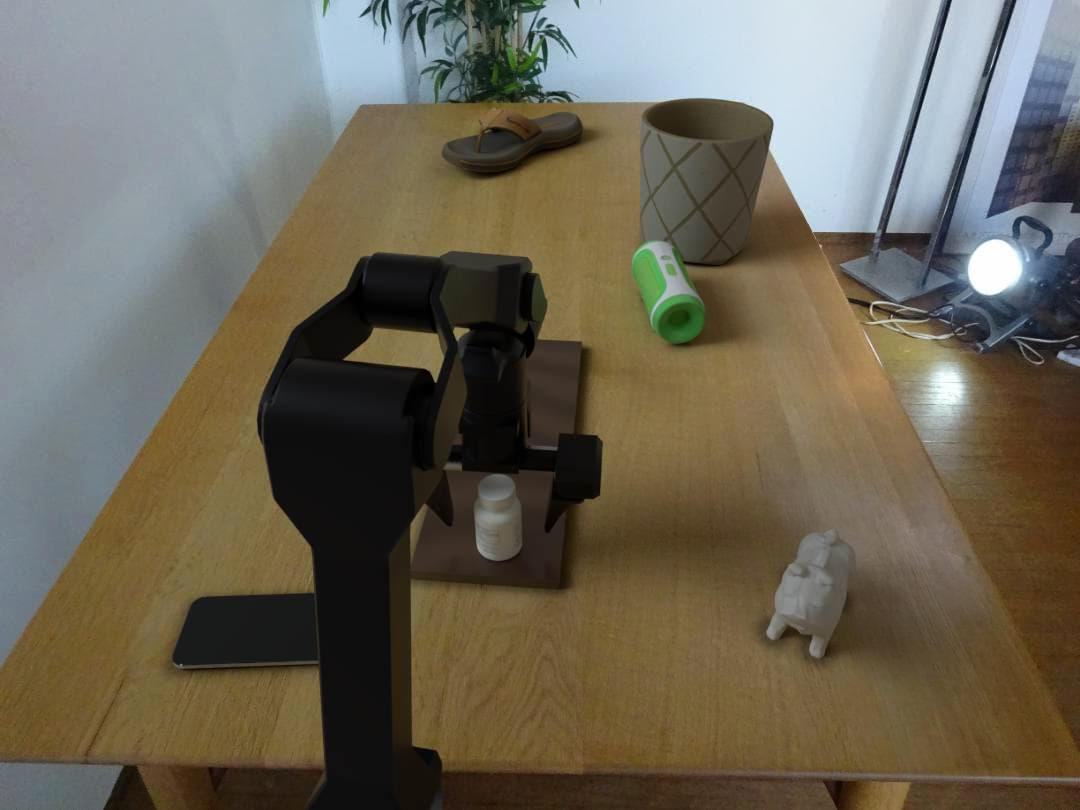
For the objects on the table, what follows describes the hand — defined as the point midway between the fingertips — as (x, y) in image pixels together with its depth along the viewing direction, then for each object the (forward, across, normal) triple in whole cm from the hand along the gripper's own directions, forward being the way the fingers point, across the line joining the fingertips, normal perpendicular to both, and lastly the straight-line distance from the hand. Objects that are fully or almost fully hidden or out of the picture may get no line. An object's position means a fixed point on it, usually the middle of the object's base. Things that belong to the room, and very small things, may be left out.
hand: (498, 526), depth 76 cm
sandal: (+4, +11, -104) cm, 105 cm away
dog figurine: (+4, -28, +6) cm, 29 cm away
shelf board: (+4, +1, -16) cm, 16 cm away
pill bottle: (+3, 0, 0) cm, 3 cm away
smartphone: (+4, +19, +11) cm, 22 cm away
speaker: (+4, -17, -46) cm, 49 cm away
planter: (+4, -22, -68) cm, 72 cm away
